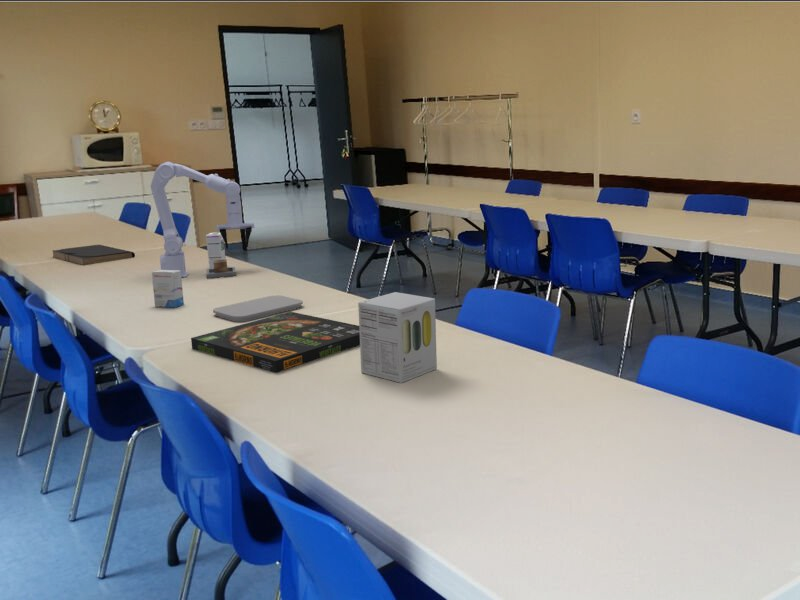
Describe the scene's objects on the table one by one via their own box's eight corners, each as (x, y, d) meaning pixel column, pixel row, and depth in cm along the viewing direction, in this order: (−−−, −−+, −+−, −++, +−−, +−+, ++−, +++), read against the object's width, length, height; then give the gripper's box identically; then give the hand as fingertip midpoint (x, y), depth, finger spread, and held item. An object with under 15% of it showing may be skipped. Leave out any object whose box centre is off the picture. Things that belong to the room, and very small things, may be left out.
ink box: (185, 304, 271) (181, 269, 268) (176, 308, 266) (172, 272, 263) (163, 303, 273) (159, 268, 271) (154, 306, 269) (150, 271, 266)
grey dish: (207, 278, 312) (206, 274, 311) (206, 273, 322) (206, 269, 322) (236, 276, 314) (235, 271, 314) (234, 271, 325) (234, 266, 324)
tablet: (209, 316, 255) (208, 309, 254) (276, 301, 273) (276, 294, 272) (238, 324, 243) (238, 317, 243) (307, 308, 261) (306, 301, 261)
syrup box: (223, 269, 329) (220, 234, 326) (208, 270, 330) (205, 234, 326) (226, 266, 335) (223, 231, 332) (212, 267, 335) (209, 232, 332)
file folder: (51, 249, 372) (102, 243, 388) (52, 258, 373) (103, 251, 389) (81, 257, 349) (134, 250, 365) (82, 266, 350) (135, 259, 366)
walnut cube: (214, 275, 315) (213, 262, 314) (214, 273, 320) (213, 260, 318) (227, 274, 316) (226, 261, 315) (227, 272, 321) (226, 259, 320)
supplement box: (401, 384, 185) (398, 309, 181) (360, 373, 193) (356, 301, 189) (438, 369, 194) (436, 298, 190) (397, 359, 203) (394, 291, 199)
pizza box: (376, 341, 221) (375, 329, 220) (276, 375, 196) (275, 360, 195) (291, 323, 244) (290, 311, 243) (192, 350, 219) (191, 337, 218)
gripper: (215, 215, 312) (218, 250, 315) (253, 213, 315) (256, 247, 318) (215, 213, 319) (218, 247, 322) (252, 211, 322) (255, 245, 325)
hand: (237, 247), depth 320 cm, fingers open, 7 cm apart
